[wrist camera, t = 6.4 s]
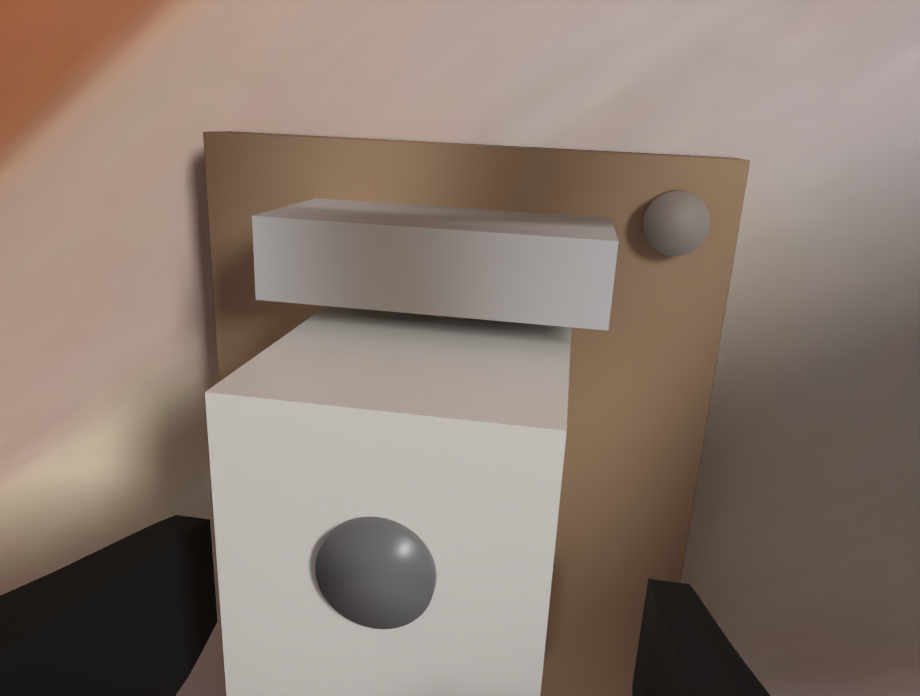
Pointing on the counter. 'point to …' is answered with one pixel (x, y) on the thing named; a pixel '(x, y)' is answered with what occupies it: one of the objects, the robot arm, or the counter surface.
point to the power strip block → (389, 505)
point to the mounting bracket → (514, 318)
